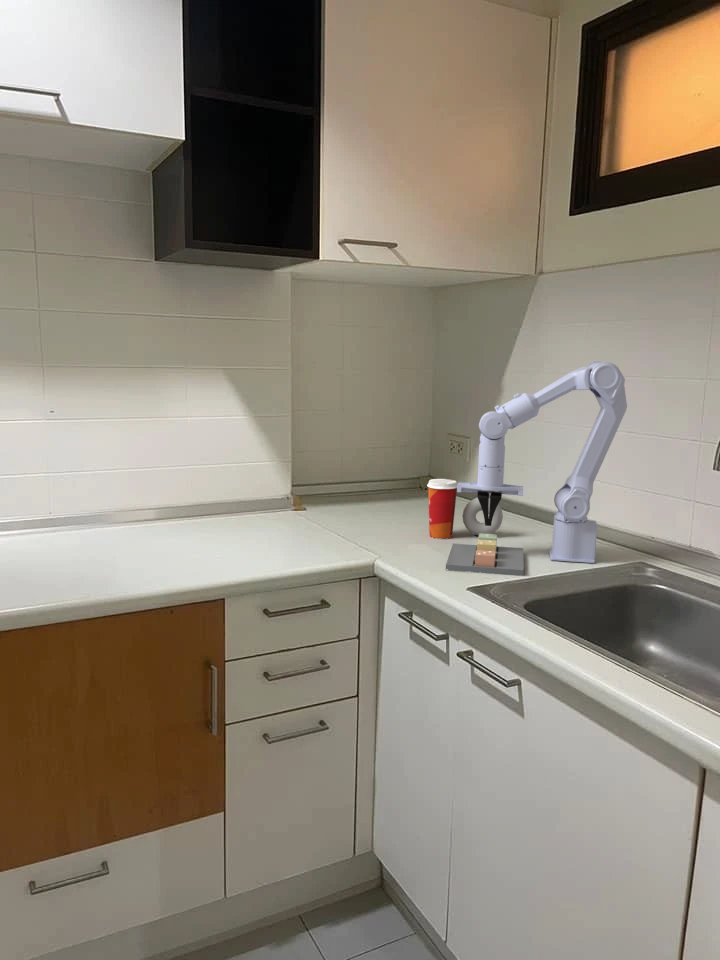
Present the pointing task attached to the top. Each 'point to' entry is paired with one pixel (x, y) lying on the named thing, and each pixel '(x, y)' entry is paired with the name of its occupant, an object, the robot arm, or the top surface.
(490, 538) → the tile one pip
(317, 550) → the top surface
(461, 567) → the grey slotted tray
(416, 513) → the top surface
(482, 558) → the tile three pips
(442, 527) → the paper cup
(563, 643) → the top surface
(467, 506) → the donut
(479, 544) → the tile two pips
